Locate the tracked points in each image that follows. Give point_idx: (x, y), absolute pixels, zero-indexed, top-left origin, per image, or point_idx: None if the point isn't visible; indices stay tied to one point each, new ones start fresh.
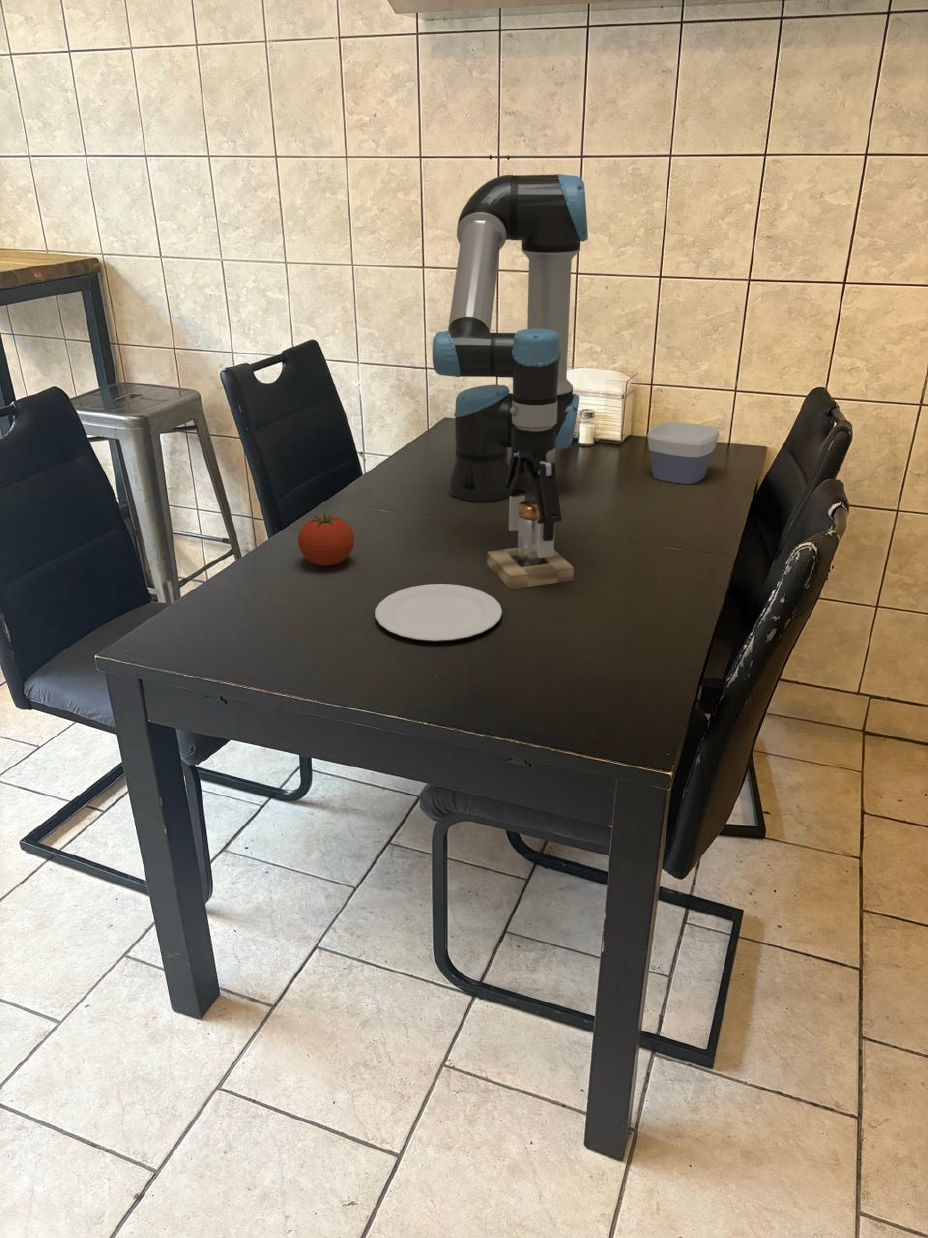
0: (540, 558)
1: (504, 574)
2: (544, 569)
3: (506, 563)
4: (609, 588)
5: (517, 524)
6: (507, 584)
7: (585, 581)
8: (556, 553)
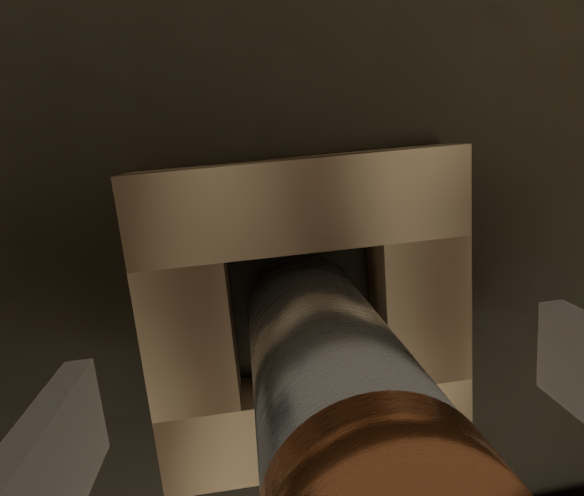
0: (361, 294)
1: None
2: (447, 293)
3: None
4: (567, 8)
5: (87, 424)
6: None
7: (464, 90)
8: (266, 171)
